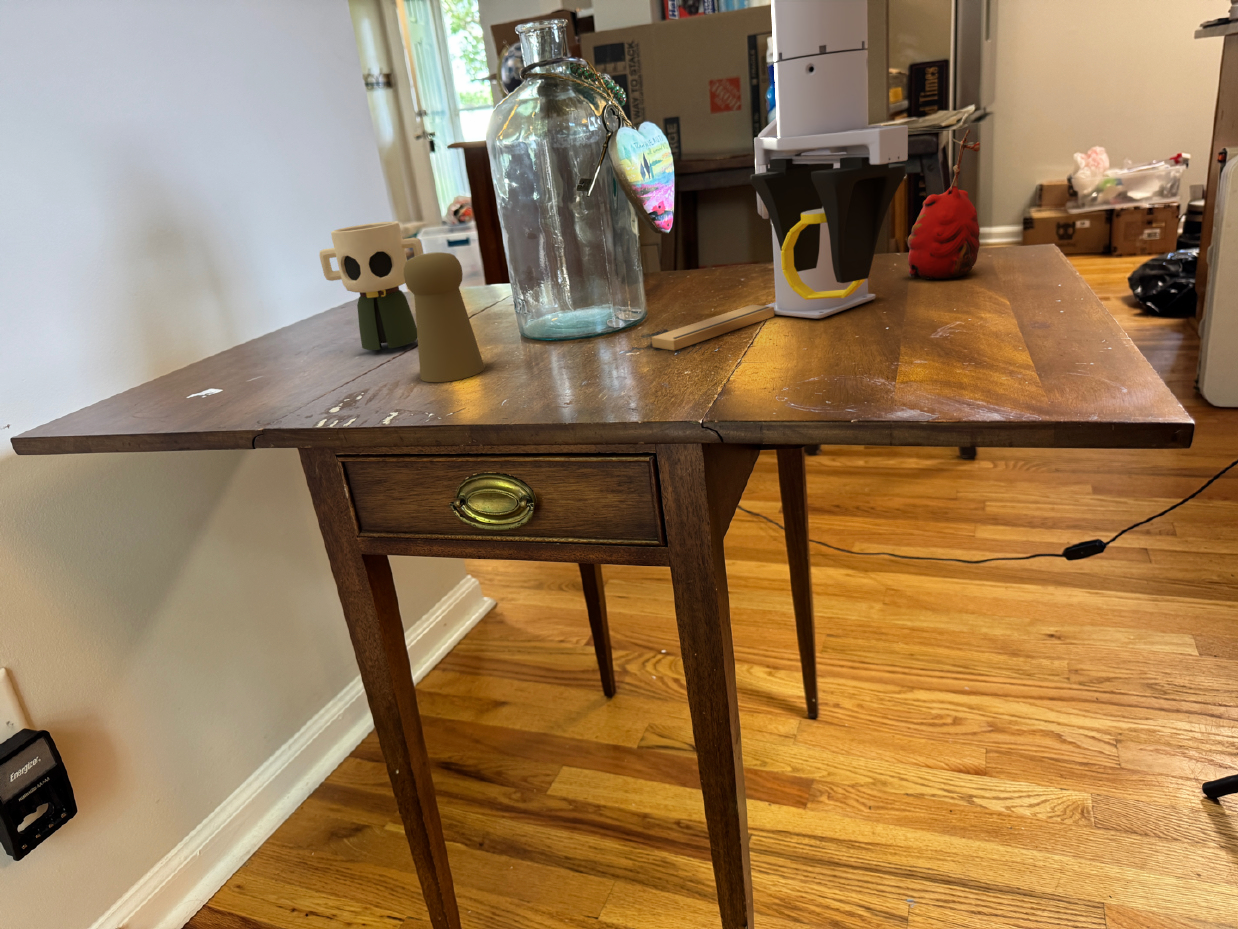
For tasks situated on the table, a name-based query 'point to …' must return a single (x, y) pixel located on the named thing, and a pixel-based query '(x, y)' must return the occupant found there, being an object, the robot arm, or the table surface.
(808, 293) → the watch
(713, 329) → the ruler
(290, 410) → the table surface
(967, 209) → the red bumpy oval piece
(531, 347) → the table surface
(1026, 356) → the table surface
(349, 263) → the character mug
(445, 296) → the cork
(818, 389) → the table surface
